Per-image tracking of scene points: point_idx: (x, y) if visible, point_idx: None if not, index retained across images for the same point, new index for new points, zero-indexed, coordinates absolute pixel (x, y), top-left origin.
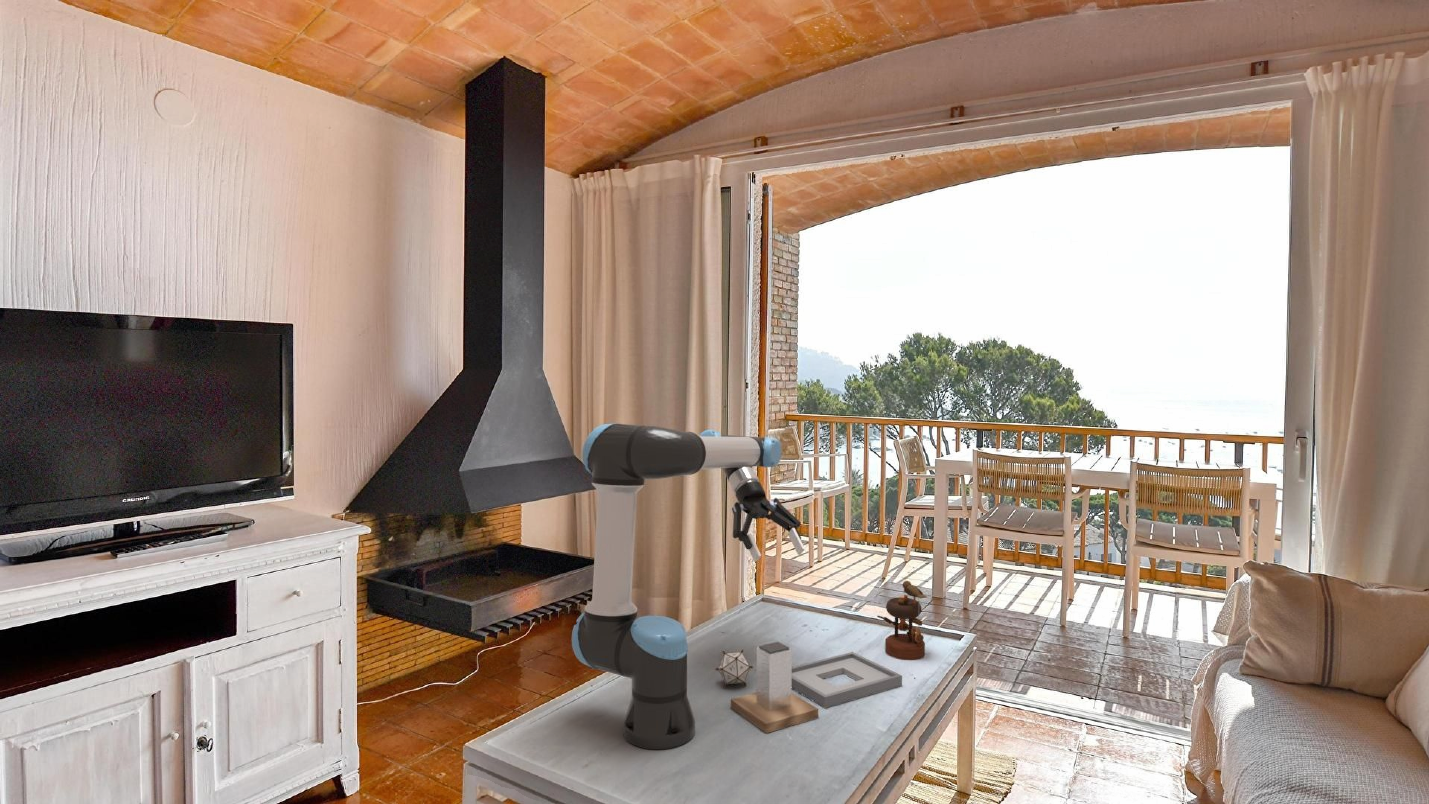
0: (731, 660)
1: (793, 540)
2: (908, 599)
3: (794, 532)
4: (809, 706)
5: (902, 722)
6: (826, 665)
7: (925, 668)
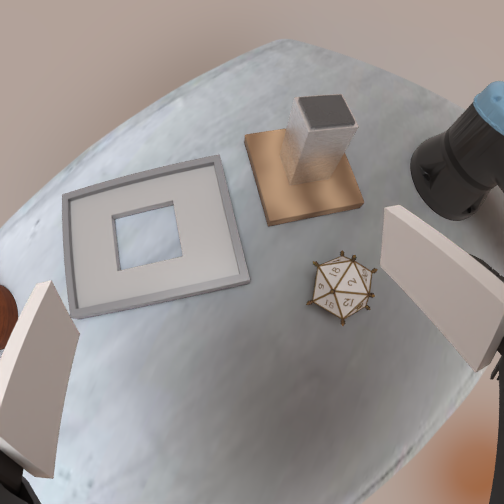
0: (359, 267)
1: (47, 393)
2: None
3: (4, 387)
4: (254, 143)
5: (145, 109)
6: (140, 291)
7: (6, 249)
